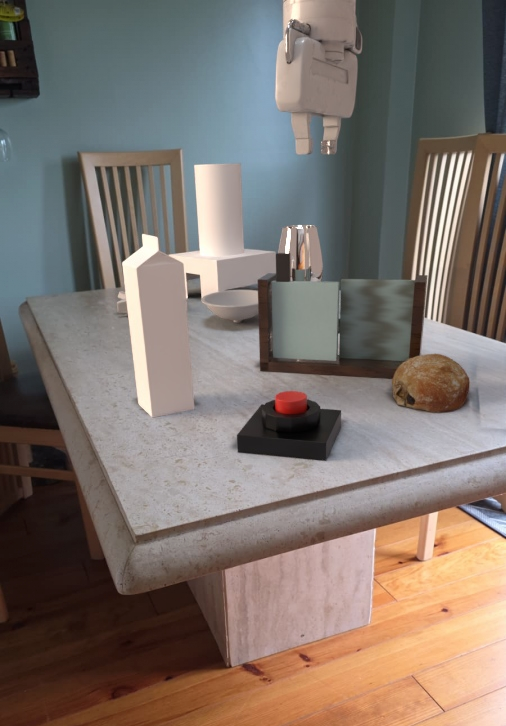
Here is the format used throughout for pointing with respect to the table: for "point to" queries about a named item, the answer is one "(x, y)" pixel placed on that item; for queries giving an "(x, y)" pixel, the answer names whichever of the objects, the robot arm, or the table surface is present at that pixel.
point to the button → (291, 402)
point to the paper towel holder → (222, 234)
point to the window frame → (358, 328)
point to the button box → (290, 432)
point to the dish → (233, 304)
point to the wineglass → (302, 252)
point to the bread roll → (430, 383)
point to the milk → (159, 329)
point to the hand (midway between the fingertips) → (317, 154)
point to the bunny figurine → (122, 302)
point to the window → (303, 316)
